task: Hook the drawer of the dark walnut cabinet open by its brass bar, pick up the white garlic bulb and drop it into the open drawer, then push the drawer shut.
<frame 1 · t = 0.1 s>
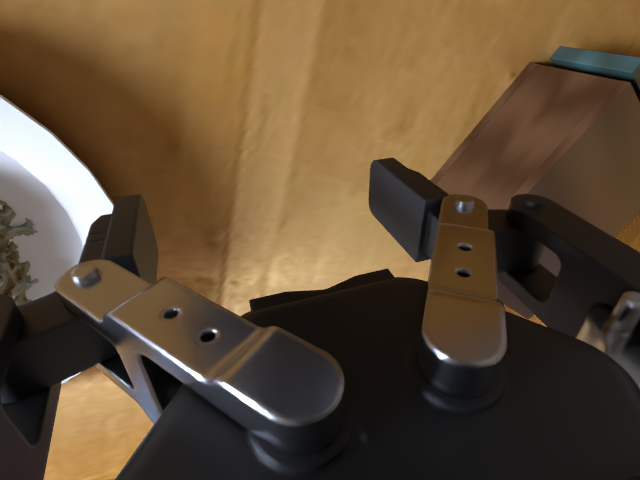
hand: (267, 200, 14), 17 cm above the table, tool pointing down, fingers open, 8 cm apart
drawer: (575, 150, 35), point 5 cm above the table, slide at 1.0 cm
cabinet: (495, 180, 40), on the table
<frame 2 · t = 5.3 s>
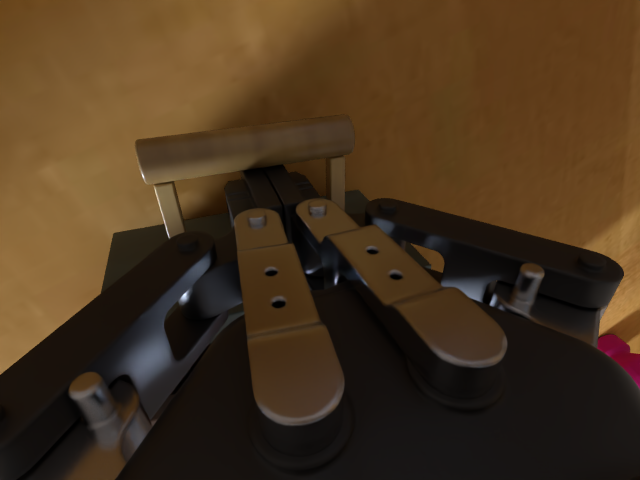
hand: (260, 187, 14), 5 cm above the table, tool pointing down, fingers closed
drawer: (271, 334, 20), point 5 cm above the table, slide at 2.0 cm, touching gripper
pepper mill: (592, 351, 45), on the table
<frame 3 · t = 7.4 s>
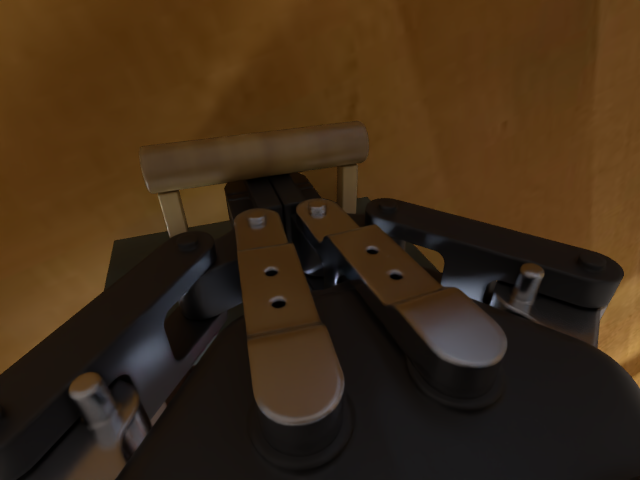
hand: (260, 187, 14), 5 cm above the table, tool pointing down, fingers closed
drawer: (276, 345, 19), point 5 cm above the table, slide at 11.1 cm, touching gripper
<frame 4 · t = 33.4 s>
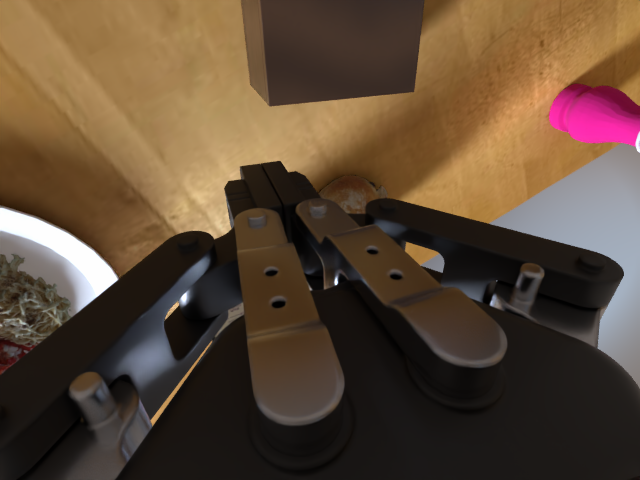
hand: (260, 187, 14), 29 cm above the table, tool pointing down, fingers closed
pepper mill: (566, 106, 55), on the table
bread roll: (345, 205, 52), on the table
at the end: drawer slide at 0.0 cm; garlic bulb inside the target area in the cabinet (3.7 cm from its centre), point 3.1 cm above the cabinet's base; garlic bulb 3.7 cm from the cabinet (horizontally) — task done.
